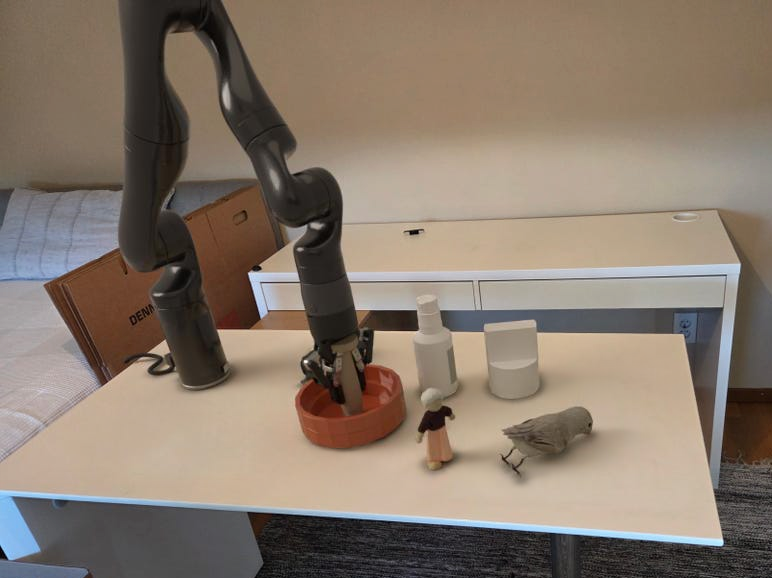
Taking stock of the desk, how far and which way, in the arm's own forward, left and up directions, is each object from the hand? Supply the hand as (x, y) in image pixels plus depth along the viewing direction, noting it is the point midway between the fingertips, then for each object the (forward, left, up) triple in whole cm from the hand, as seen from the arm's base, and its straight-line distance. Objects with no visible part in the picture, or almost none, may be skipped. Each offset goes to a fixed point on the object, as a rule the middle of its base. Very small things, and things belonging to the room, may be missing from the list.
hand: (349, 396), depth 106 cm
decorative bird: (+33, +10, -5) cm, 35 cm away
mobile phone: (-18, +10, -5) cm, 21 cm away
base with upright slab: (+17, +23, -5) cm, 29 cm away
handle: (0, 0, -4) cm, 4 cm away
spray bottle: (+6, +15, -5) cm, 17 cm away
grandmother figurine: (+20, 0, -5) cm, 21 cm away
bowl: (0, 0, -5) cm, 5 cm away
